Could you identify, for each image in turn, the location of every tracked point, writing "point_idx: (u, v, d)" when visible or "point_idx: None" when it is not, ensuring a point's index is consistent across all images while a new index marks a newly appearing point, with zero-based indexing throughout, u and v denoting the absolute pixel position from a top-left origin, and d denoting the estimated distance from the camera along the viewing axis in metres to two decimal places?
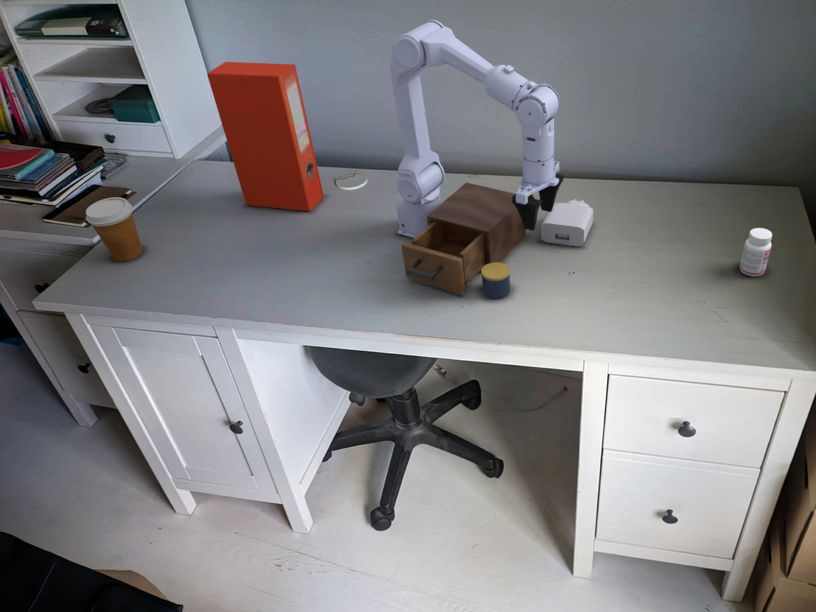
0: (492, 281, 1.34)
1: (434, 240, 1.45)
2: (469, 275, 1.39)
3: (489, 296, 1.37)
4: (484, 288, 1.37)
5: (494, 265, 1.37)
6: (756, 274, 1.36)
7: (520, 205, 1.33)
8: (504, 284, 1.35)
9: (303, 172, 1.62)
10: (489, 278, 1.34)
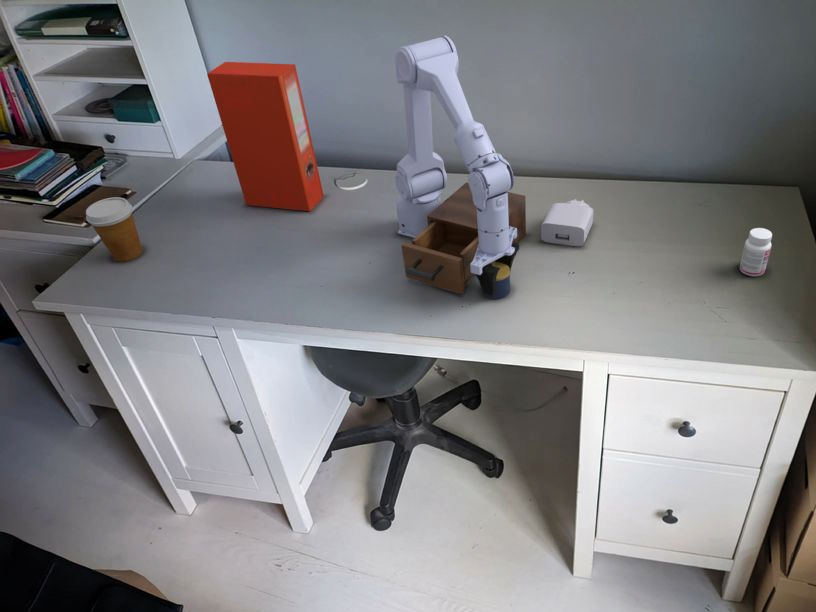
0: None
1: (434, 240, 1.45)
2: (469, 275, 1.39)
3: (489, 296, 1.37)
4: None
5: (494, 265, 1.37)
6: (756, 274, 1.36)
7: None
8: (504, 284, 1.35)
9: (303, 172, 1.62)
10: None
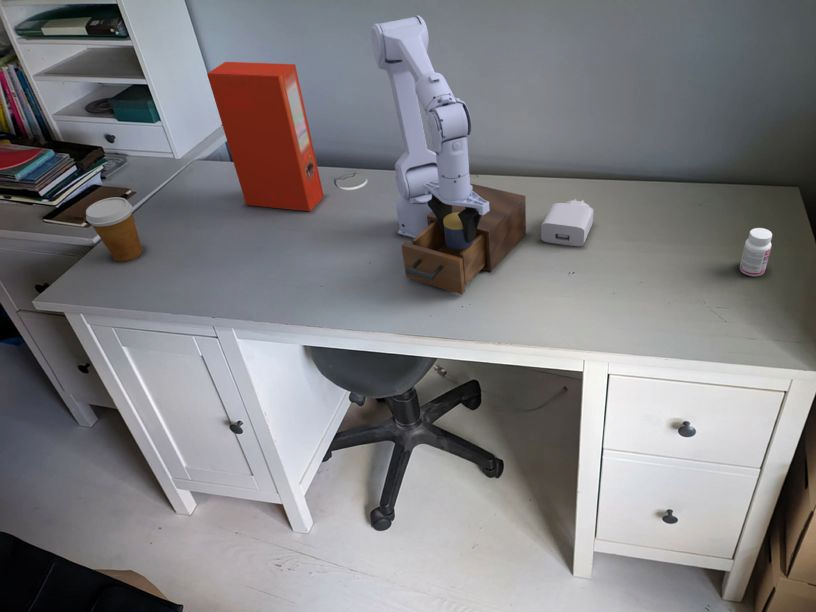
0: None
1: (434, 240, 1.45)
2: (469, 275, 1.39)
3: (469, 244, 1.35)
4: (463, 240, 1.34)
5: (448, 219, 1.34)
6: (756, 274, 1.36)
7: None
8: None
9: (303, 172, 1.62)
10: None
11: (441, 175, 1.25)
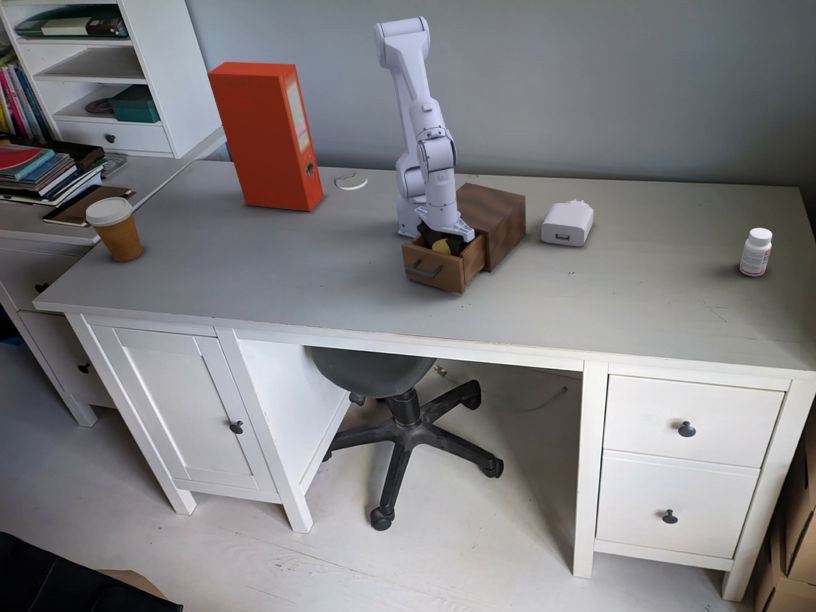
0: None
1: None
2: (469, 275, 1.39)
3: None
4: None
5: (437, 245, 1.40)
6: (756, 274, 1.36)
7: None
8: None
9: (303, 172, 1.62)
10: None
11: (428, 203, 1.32)
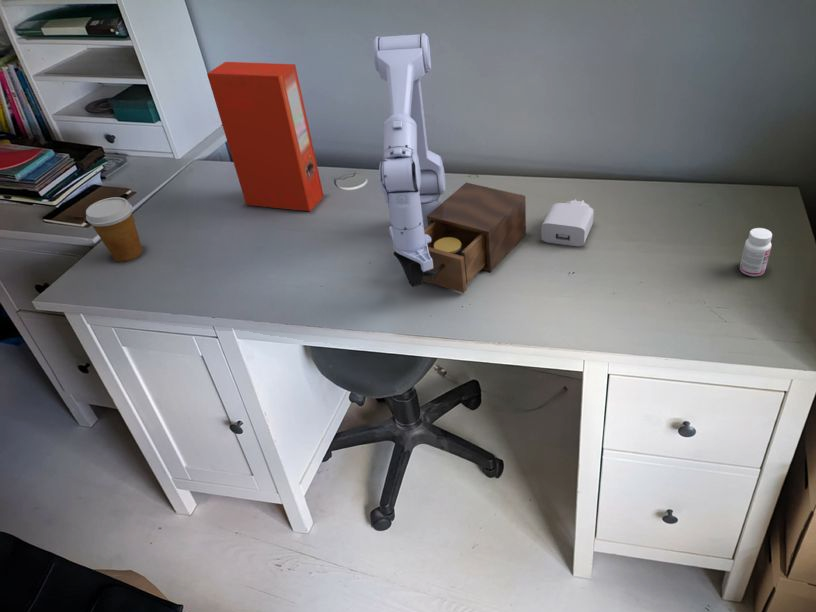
0: (459, 250, 1.40)
1: (435, 238, 1.46)
2: (471, 273, 1.39)
3: None
4: None
5: (439, 244, 1.40)
6: (756, 274, 1.36)
7: None
8: None
9: (303, 172, 1.62)
10: (457, 249, 1.39)
11: (391, 223, 1.24)
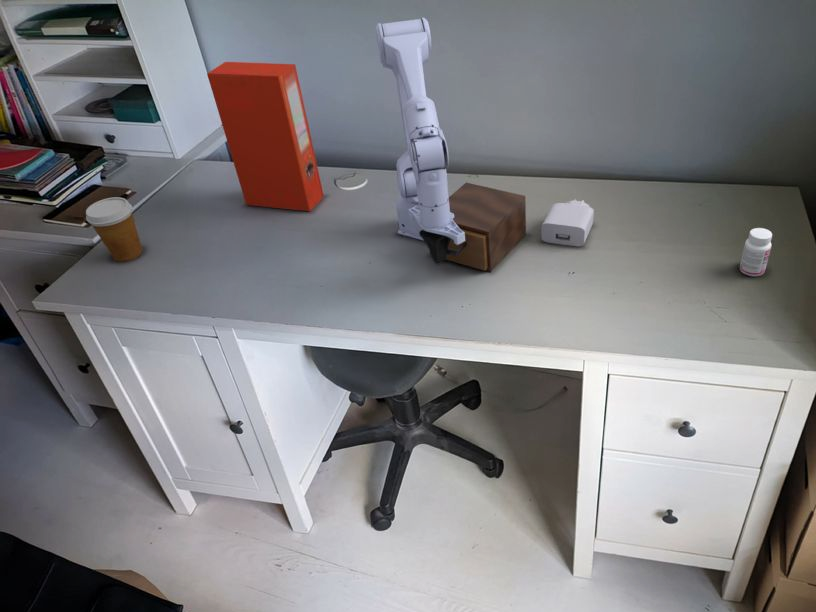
0: None
1: None
2: None
3: None
4: None
5: None
6: (756, 274, 1.36)
7: None
8: None
9: (303, 172, 1.62)
10: None
11: (420, 203, 1.29)
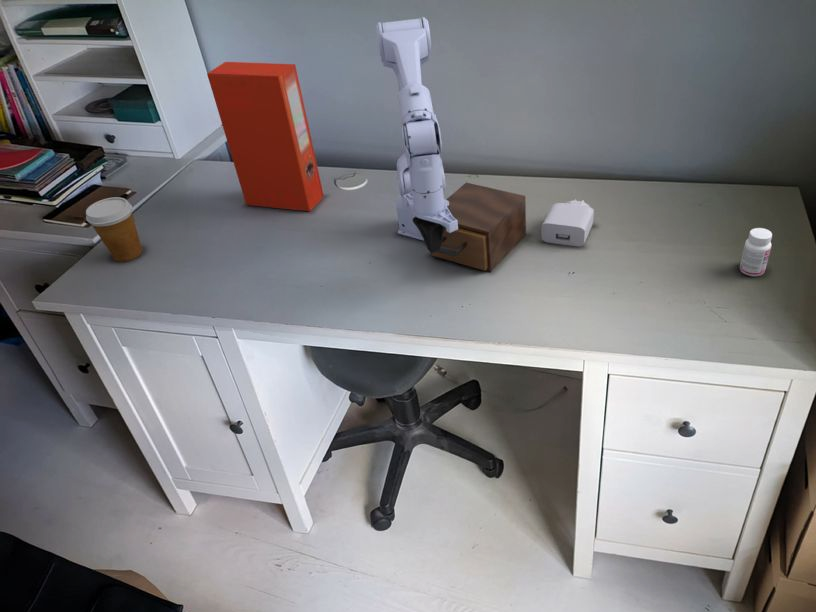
0: None
1: None
2: None
3: None
4: None
5: None
6: (756, 274, 1.36)
7: None
8: None
9: (303, 172, 1.62)
10: None
11: (412, 189, 1.26)
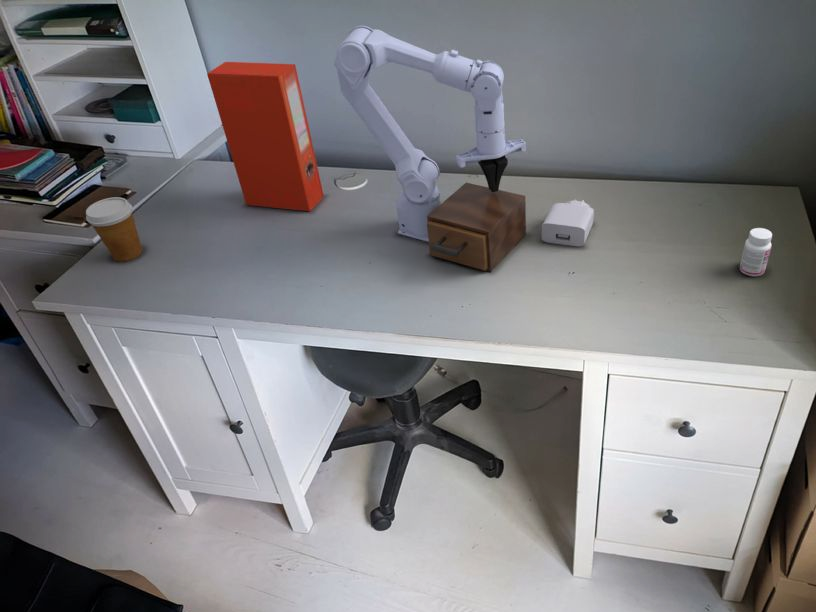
0: None
1: None
2: None
3: None
4: None
5: None
6: (756, 274, 1.36)
7: None
8: None
9: (303, 172, 1.62)
10: None
11: (493, 132, 1.38)
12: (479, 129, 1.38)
